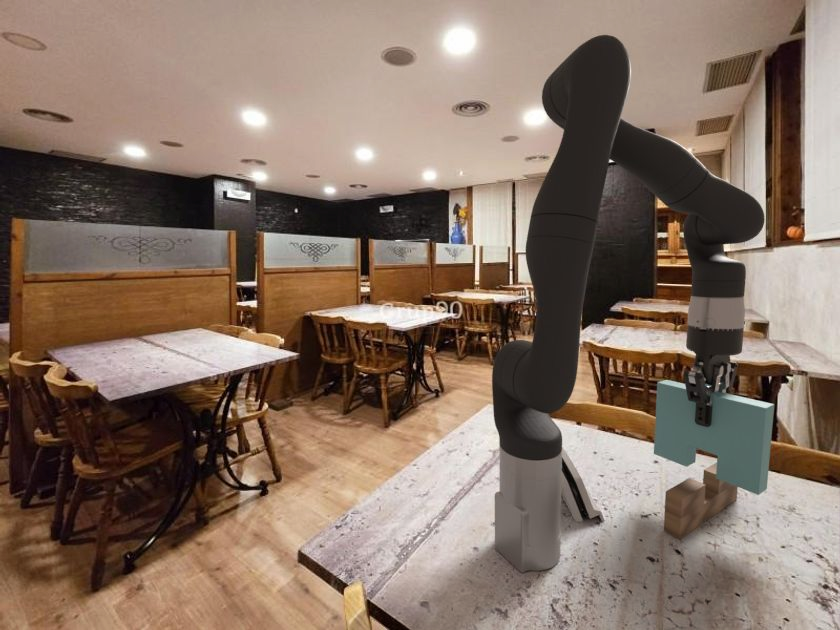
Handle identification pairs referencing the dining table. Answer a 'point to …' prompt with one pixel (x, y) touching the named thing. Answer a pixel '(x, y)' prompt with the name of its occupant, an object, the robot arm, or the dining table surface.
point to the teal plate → (716, 434)
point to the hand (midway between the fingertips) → (708, 422)
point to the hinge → (576, 492)
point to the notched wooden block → (696, 502)
